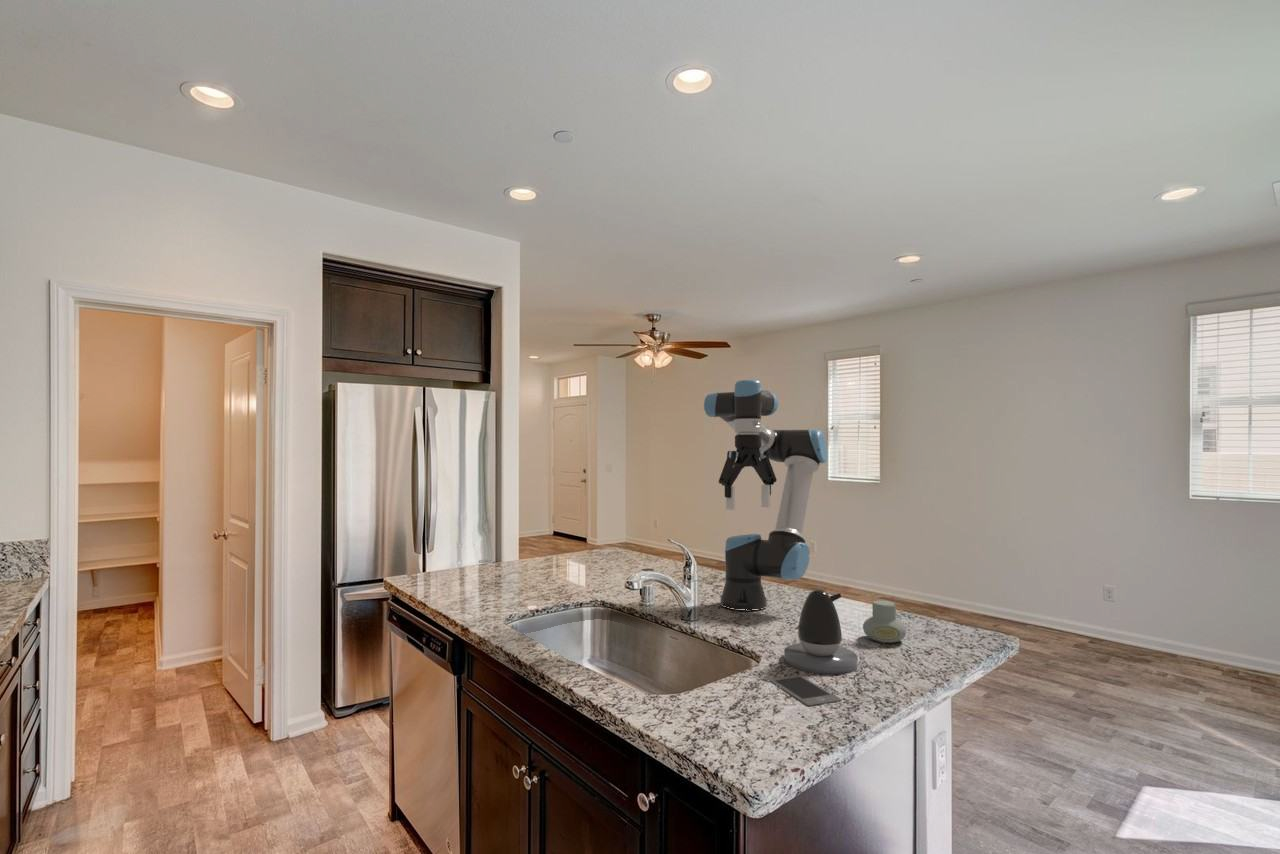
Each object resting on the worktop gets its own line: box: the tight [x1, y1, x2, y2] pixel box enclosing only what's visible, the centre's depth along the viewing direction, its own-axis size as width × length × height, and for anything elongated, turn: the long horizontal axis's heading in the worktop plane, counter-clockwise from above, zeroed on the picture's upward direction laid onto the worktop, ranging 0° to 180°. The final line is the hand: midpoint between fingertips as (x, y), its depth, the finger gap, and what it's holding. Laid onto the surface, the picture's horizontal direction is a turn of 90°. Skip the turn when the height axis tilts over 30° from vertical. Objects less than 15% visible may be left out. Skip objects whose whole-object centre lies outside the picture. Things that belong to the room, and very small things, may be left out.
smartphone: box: [769, 674, 842, 707], centre depth 131 cm, size 15×8×1 cm, turn 20°
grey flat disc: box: [783, 642, 858, 675], centre depth 148 cm, size 17×17×2 cm
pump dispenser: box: [797, 589, 843, 657], centre depth 149 cm, size 10×10×15 cm
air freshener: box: [862, 600, 907, 644], centre depth 165 cm, size 11×8×10 cm
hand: (748, 508), depth 175 cm, fingers open, 13 cm apart
